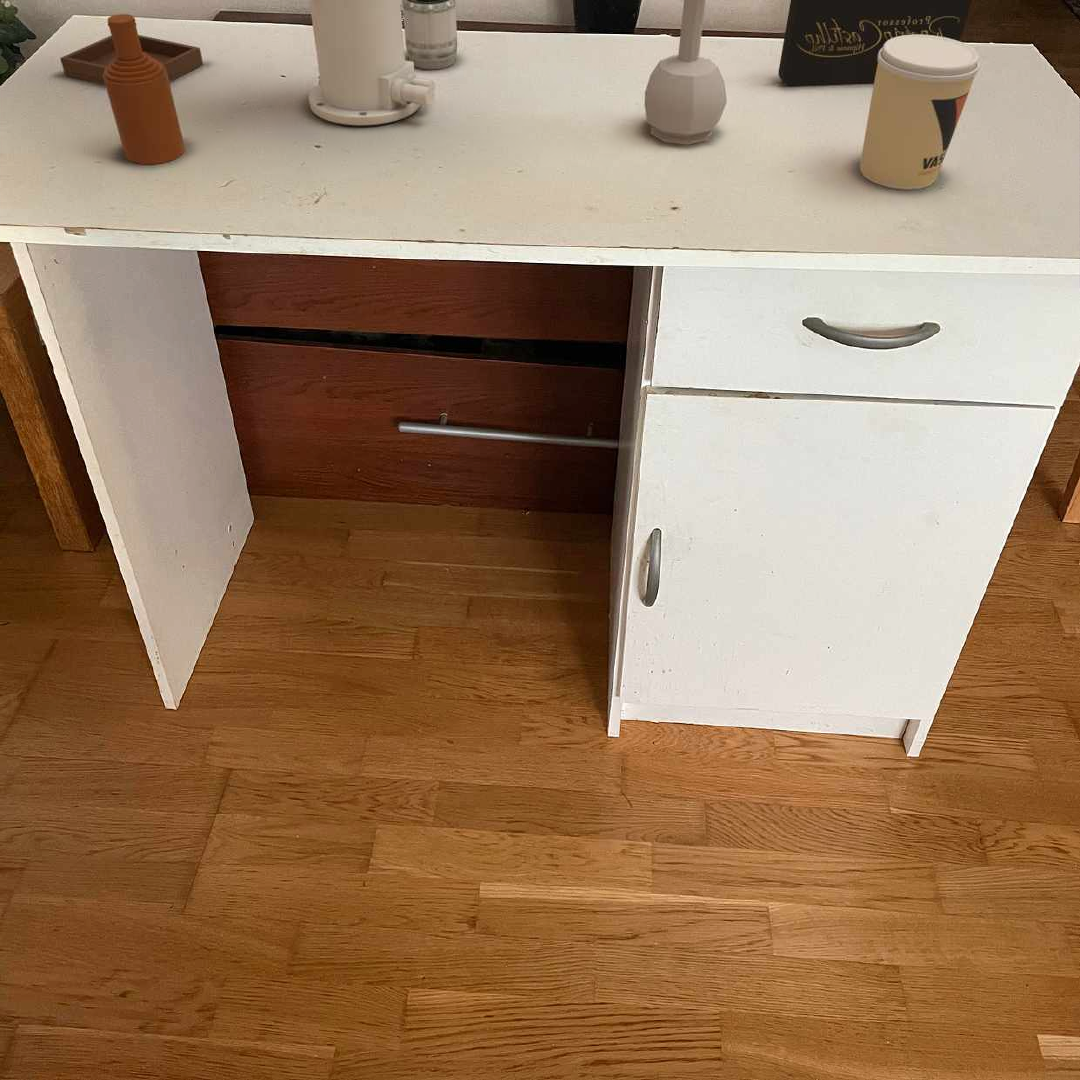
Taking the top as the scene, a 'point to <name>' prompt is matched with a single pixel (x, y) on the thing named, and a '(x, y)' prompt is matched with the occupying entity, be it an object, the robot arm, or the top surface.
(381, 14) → the robot arm
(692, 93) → the potion bottle
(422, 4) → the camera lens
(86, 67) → the tray
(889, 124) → the coffee cup
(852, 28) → the nameplate
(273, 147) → the top surface
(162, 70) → the bottle
